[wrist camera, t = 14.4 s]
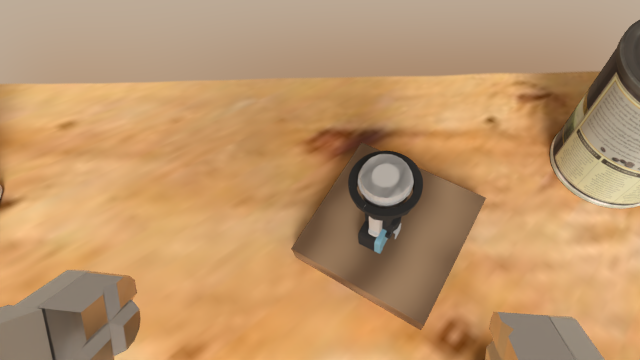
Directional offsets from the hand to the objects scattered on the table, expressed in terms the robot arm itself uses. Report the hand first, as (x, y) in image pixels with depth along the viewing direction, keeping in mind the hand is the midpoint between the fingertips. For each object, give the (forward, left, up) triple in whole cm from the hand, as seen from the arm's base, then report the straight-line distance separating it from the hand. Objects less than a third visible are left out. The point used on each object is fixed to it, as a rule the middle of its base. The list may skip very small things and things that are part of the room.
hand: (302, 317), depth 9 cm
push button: (-4, +13, -26) cm, 29 cm away
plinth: (-4, +13, -29) cm, 32 cm away
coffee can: (+11, +30, -29) cm, 43 cm away
